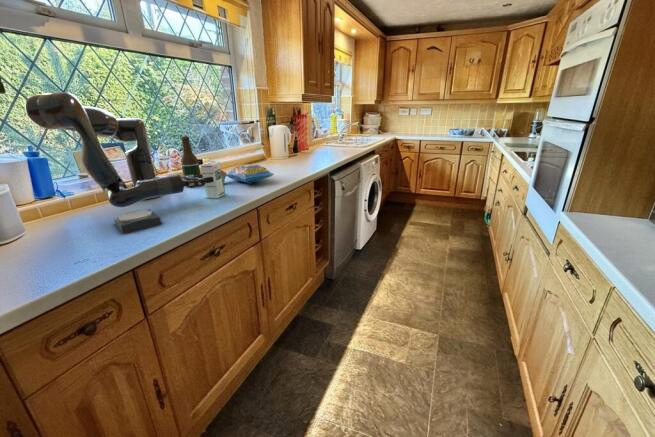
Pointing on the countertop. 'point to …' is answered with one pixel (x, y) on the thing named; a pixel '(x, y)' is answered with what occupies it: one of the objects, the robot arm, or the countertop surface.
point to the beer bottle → (189, 159)
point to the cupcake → (223, 174)
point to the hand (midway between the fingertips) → (208, 177)
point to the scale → (136, 220)
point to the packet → (249, 173)
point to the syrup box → (217, 186)
